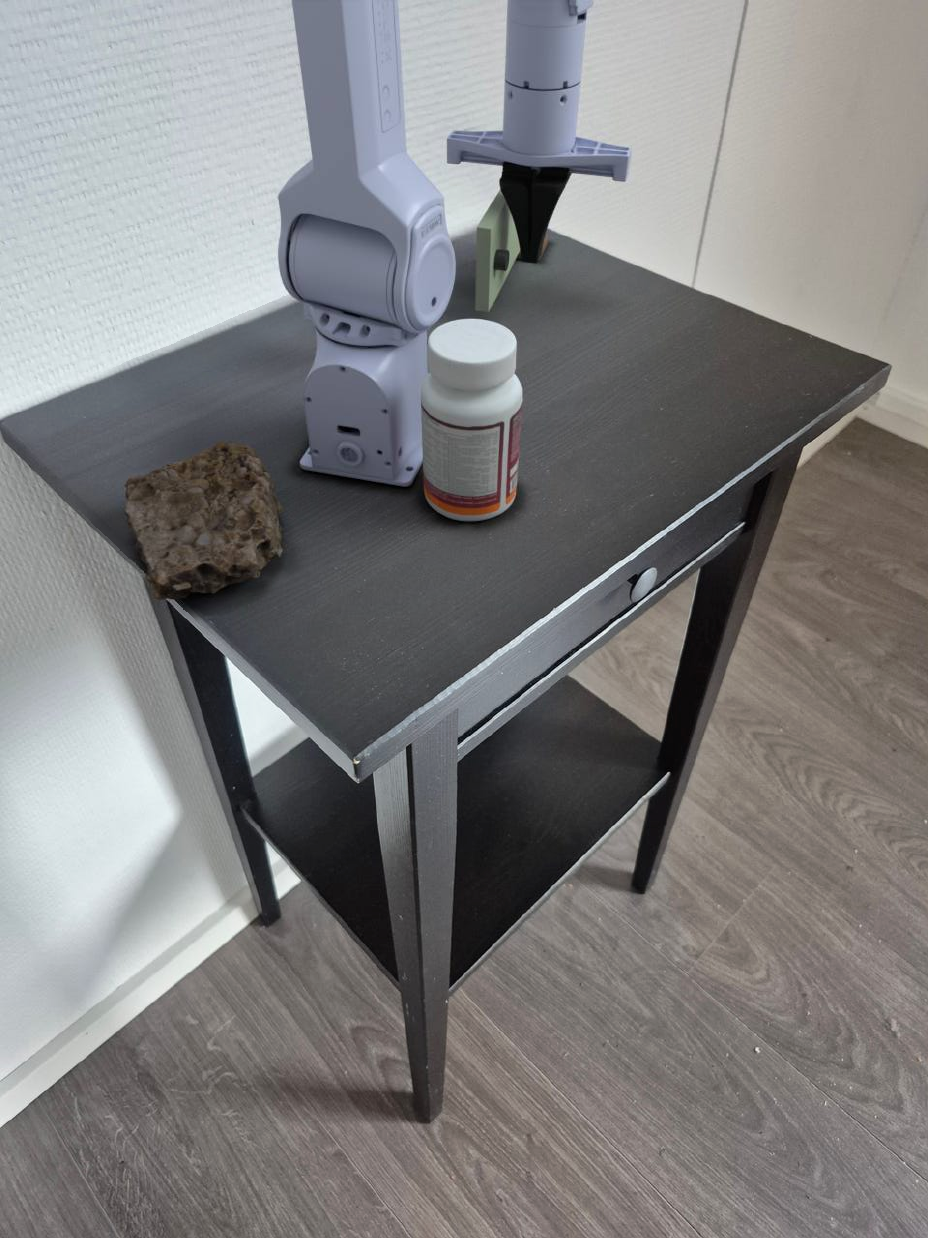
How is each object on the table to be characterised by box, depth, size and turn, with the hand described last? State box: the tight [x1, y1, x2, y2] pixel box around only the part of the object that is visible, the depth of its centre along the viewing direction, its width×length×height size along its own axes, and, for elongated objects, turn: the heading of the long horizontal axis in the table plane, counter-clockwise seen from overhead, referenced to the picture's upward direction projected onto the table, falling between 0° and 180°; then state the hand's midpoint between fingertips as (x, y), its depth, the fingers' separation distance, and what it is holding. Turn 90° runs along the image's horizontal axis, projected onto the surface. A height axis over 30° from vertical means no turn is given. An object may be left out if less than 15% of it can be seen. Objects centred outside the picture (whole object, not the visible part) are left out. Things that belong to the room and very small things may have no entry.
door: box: [474, 189, 520, 313], centre depth 77 cm, size 13×2×7 cm, turn 165°
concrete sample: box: [123, 440, 284, 601], centre depth 54 cm, size 12×10×5 cm
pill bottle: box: [421, 318, 524, 522], centre depth 55 cm, size 6×6×11 cm
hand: (531, 257), depth 76 cm, fingers closed
